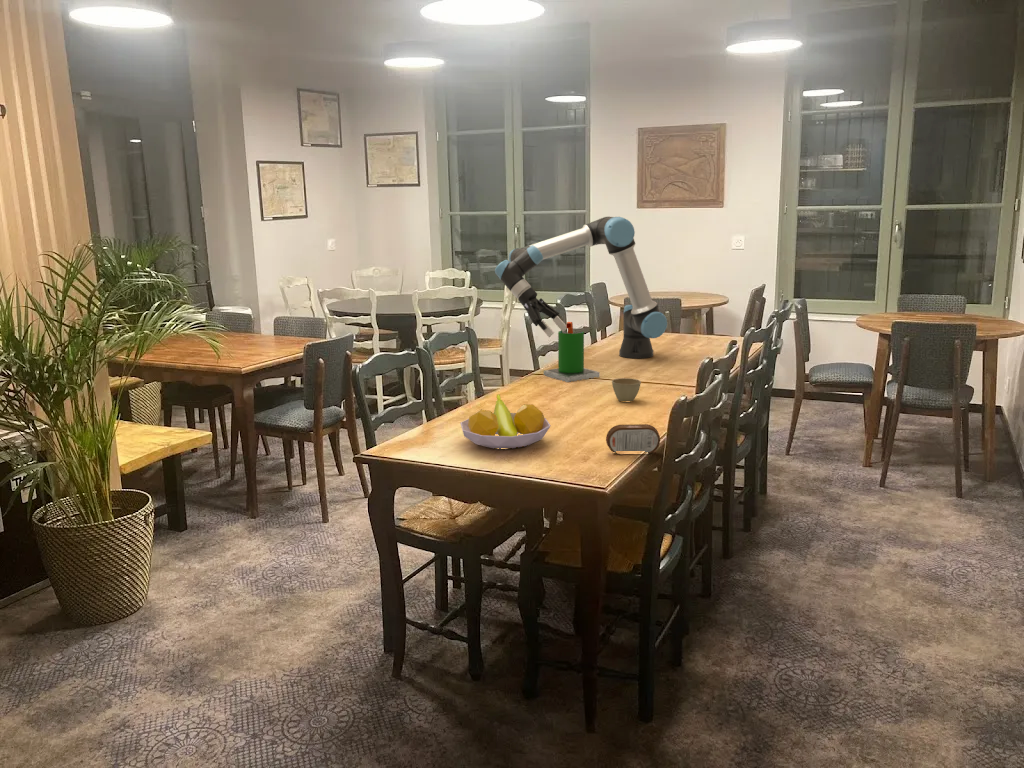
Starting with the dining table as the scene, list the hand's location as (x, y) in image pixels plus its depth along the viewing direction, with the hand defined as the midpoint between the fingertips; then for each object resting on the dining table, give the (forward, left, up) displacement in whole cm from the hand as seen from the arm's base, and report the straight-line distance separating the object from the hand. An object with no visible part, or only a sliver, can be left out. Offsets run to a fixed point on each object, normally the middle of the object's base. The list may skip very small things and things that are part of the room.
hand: (558, 332), depth 334 cm
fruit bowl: (+67, +65, -18) cm, 95 cm away
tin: (+44, +96, -18) cm, 107 cm away
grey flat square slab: (-3, +4, -17) cm, 18 cm away
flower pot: (+6, +48, -18) cm, 52 cm away
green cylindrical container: (-3, +4, -15) cm, 16 cm away
